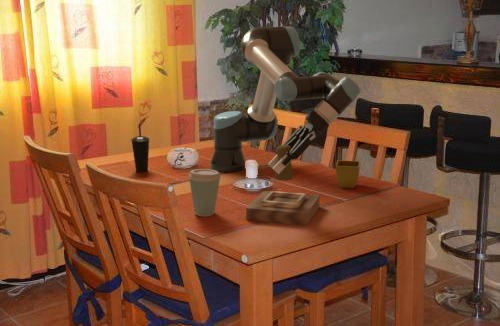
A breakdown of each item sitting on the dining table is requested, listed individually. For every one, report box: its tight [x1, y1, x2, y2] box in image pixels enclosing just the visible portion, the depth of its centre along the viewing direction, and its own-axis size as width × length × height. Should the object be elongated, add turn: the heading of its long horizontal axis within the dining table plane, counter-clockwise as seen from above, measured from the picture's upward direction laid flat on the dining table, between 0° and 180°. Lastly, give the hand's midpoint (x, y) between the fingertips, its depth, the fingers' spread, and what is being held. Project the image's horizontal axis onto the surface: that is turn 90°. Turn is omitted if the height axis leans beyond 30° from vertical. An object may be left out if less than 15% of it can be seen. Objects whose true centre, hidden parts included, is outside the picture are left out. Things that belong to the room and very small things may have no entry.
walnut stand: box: [245, 190, 321, 226], centre depth 226 cm, size 20×20×6 cm
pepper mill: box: [274, 144, 294, 181], centre depth 222 cm, size 6×6×11 cm
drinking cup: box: [130, 123, 150, 173], centre depth 279 cm, size 8×8×20 cm
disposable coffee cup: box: [188, 168, 221, 217], centre depth 224 cm, size 11×11×15 cm
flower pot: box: [335, 159, 361, 189], centre depth 256 cm, size 9×9×9 cm
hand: (273, 169), depth 222 cm, fingers closed on pepper mill, 5 cm apart
